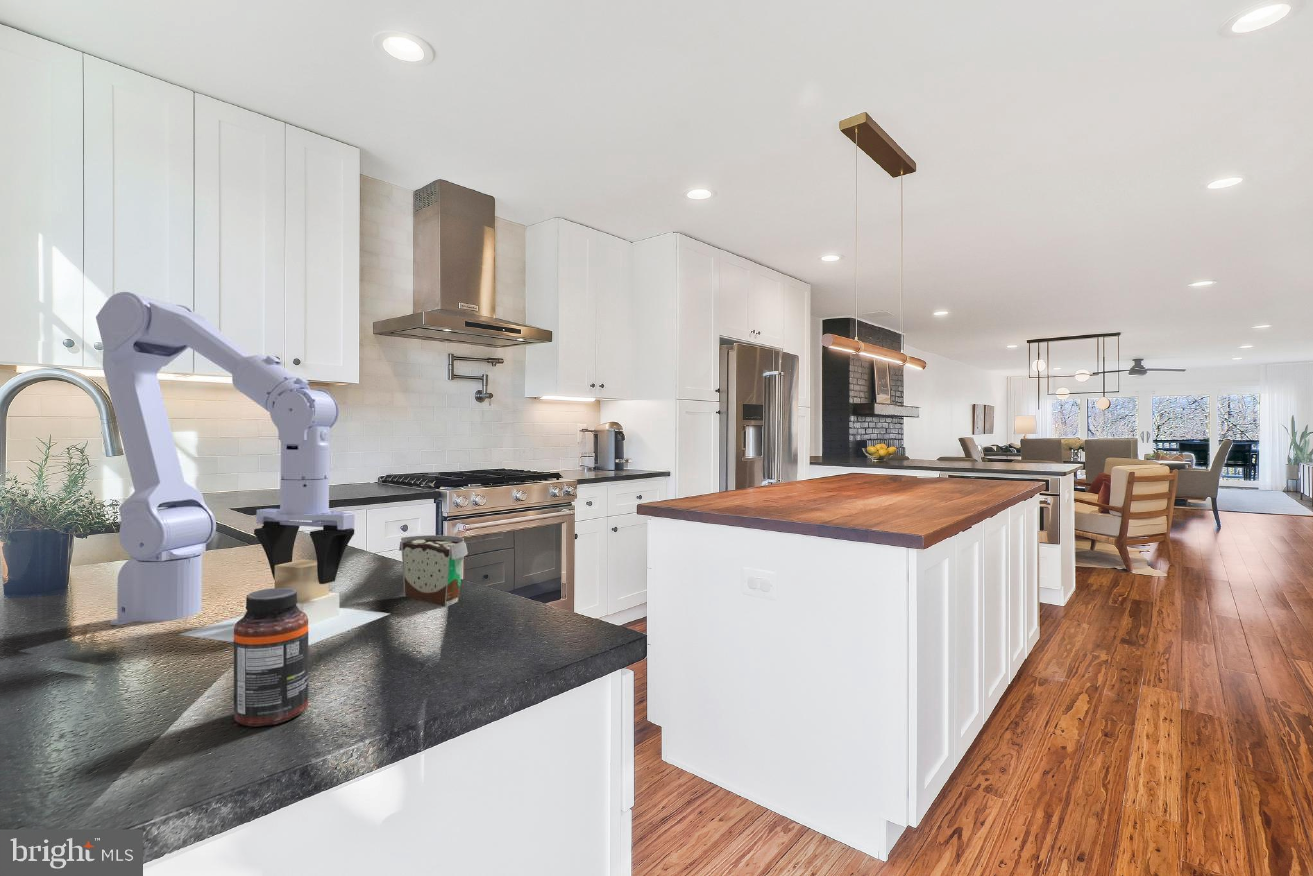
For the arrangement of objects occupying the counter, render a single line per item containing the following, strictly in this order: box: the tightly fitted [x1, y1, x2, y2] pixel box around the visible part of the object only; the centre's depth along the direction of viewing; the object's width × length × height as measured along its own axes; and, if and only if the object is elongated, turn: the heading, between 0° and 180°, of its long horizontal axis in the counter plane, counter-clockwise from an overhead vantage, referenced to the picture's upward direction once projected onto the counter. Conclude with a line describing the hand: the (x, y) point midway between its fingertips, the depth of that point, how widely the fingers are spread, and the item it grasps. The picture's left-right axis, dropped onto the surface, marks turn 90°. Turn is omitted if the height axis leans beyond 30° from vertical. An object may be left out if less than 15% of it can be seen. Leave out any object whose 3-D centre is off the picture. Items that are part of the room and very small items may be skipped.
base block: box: [296, 591, 340, 626], centre depth 85 cm, size 6×6×3 cm
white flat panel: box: [178, 607, 392, 646], centre depth 83 cm, size 18×16×1 cm
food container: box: [398, 534, 469, 607], centre depth 98 cm, size 12×6×10 cm, turn 58°
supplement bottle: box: [232, 587, 309, 728], centre depth 59 cm, size 6×6×11 cm
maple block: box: [274, 558, 330, 603], centre depth 85 cm, size 4×4×4 cm
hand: (304, 580), depth 85 cm, fingers open, 7 cm apart
